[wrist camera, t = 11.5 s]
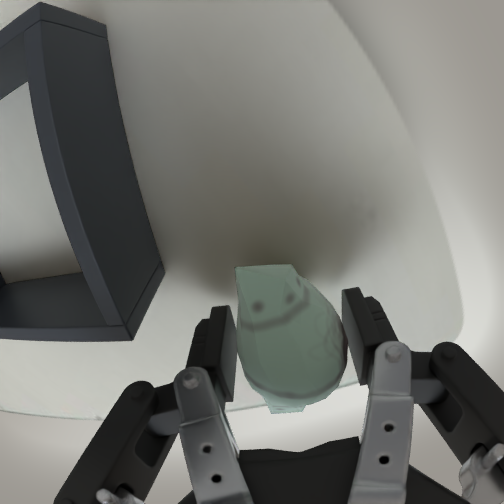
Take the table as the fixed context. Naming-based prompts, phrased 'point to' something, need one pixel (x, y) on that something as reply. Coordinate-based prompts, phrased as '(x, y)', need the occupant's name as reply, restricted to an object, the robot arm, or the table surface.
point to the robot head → (288, 337)
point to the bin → (79, 185)
